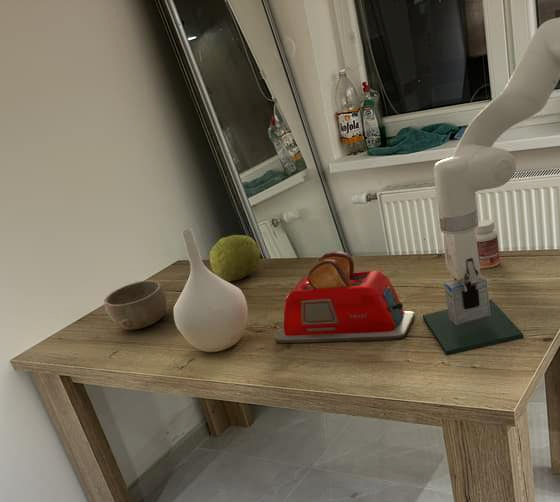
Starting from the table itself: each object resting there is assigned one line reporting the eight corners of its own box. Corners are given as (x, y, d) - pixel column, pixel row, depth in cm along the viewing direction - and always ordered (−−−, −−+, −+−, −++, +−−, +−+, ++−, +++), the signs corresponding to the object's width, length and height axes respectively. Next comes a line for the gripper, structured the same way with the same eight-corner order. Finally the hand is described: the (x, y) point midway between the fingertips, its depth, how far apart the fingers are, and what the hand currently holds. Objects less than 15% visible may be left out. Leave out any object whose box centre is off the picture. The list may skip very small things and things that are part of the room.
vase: (230, 362, 161) (195, 242, 147) (171, 359, 170) (132, 246, 157) (268, 327, 174) (239, 214, 161) (211, 326, 184) (179, 220, 170)
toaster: (416, 315, 161) (405, 239, 152) (404, 340, 150) (391, 260, 142) (292, 321, 174) (276, 251, 166) (274, 344, 164) (255, 271, 156)
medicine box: (482, 309, 150) (478, 272, 146) (491, 316, 146) (487, 279, 142) (448, 319, 149) (443, 282, 146) (456, 326, 145) (451, 289, 142)
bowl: (137, 340, 187) (125, 307, 183) (102, 332, 200) (90, 300, 195) (184, 313, 198) (173, 281, 193) (148, 307, 210) (137, 277, 205)
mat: (491, 303, 157) (490, 299, 157) (523, 337, 139) (523, 333, 139) (423, 318, 158) (422, 315, 157) (446, 355, 140) (445, 351, 140)
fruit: (232, 267, 226) (244, 225, 219) (262, 286, 218) (275, 243, 211) (196, 271, 214) (206, 226, 207) (225, 291, 207) (238, 245, 200)
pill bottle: (504, 262, 176) (501, 220, 171) (486, 270, 175) (482, 228, 170) (488, 258, 182) (484, 217, 177) (470, 266, 180) (466, 224, 175)
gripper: (429, 215, 146) (440, 293, 154) (452, 236, 130) (462, 321, 139) (464, 206, 145) (473, 285, 153) (490, 227, 130) (498, 313, 138)
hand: (467, 301), depth 146 cm, fingers closed on medicine box, 4 cm apart
